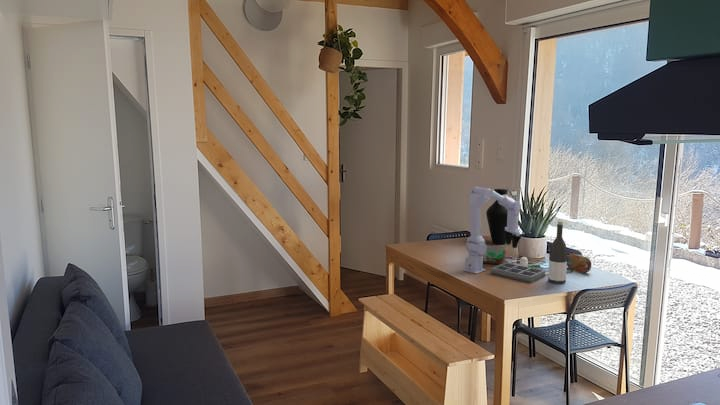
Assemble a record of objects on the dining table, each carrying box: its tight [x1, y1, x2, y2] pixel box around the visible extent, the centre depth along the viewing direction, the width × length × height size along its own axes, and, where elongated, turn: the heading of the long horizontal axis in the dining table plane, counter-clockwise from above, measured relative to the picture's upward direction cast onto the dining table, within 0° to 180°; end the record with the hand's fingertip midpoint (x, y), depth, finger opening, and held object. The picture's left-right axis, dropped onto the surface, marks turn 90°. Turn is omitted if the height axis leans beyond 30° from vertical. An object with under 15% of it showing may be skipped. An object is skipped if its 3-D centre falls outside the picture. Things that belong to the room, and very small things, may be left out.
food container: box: [485, 244, 508, 265], centre depth 281 cm, size 12×6×10 cm, turn 62°
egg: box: [519, 256, 529, 267], centre depth 272 cm, size 4×4×6 cm
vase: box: [485, 188, 508, 246], centre depth 325 cm, size 17×17×35 cm
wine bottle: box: [547, 220, 568, 285], centre depth 246 cm, size 8×8×30 cm
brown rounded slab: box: [567, 253, 592, 274], centre depth 266 cm, size 15×3×8 cm, turn 23°
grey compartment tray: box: [490, 262, 546, 284], centre depth 259 cm, size 15×22×3 cm
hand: (511, 246), depth 280 cm, fingers open, 7 cm apart
